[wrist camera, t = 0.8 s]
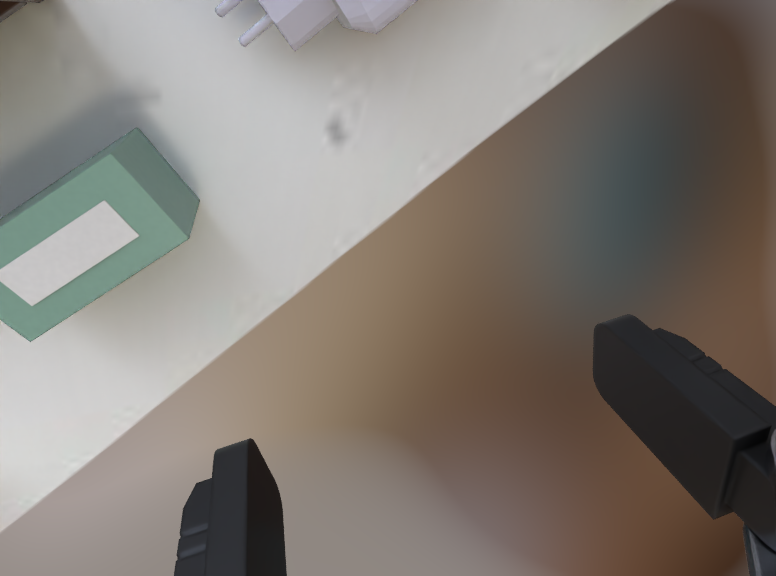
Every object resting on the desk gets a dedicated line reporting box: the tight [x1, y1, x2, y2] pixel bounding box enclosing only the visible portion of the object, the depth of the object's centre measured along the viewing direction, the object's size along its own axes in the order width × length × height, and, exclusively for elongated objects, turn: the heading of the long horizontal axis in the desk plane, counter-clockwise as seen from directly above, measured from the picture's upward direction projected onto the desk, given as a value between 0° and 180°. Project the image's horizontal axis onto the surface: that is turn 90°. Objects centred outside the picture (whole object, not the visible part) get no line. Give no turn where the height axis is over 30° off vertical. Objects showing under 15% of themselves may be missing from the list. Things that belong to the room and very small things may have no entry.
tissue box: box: [0, 127, 200, 342], centre depth 28 cm, size 6×11×7 cm, turn 120°
